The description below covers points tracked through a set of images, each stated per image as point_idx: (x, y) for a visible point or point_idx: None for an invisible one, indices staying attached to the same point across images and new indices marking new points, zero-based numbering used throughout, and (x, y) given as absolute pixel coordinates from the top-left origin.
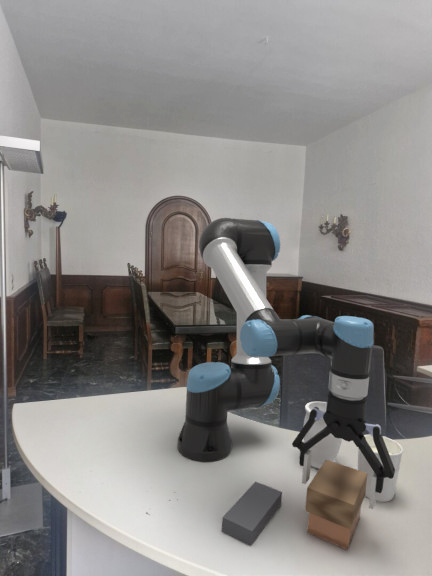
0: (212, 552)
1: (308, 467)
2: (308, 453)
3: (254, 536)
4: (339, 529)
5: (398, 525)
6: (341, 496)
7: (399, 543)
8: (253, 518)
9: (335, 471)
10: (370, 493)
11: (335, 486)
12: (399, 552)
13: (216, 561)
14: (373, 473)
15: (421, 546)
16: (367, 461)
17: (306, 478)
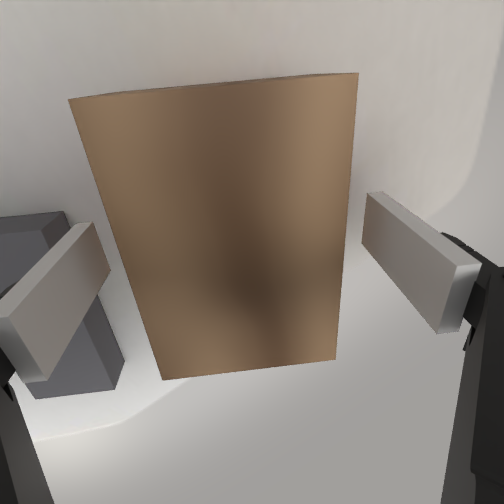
0: (89, 405)
1: (75, 290)
2: (29, 361)
3: (117, 362)
4: None
5: (413, 29)
6: (285, 348)
7: (410, 132)
8: (84, 365)
9: (191, 201)
10: (389, 276)
11: (244, 311)
12: (408, 170)
13: (110, 411)
14: (446, 299)
15: (473, 97)
16: (456, 409)
17: (100, 275)
